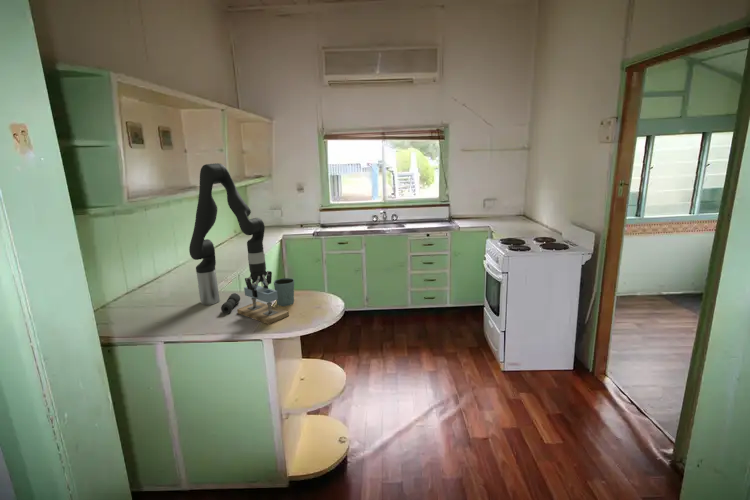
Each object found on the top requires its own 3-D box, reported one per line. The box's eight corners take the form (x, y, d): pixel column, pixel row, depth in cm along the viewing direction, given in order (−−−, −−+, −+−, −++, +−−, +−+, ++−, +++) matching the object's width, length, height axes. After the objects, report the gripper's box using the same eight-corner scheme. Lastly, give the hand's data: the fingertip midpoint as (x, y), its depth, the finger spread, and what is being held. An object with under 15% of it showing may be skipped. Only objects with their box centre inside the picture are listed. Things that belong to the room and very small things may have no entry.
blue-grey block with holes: (245, 295, 197) (244, 287, 196) (254, 292, 202) (253, 284, 201) (268, 302, 187) (267, 294, 186) (277, 299, 191) (277, 290, 190)
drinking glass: (272, 303, 210) (269, 281, 207) (288, 298, 217) (286, 276, 214) (283, 308, 203) (280, 285, 200) (300, 302, 210) (298, 280, 207)
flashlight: (232, 314, 199) (230, 303, 197) (220, 314, 198) (219, 304, 197) (241, 302, 213) (239, 292, 212) (230, 302, 213) (229, 293, 212)
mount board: (237, 313, 199) (235, 299, 197) (258, 305, 208) (256, 292, 206) (268, 324, 185) (266, 310, 183) (289, 315, 194) (287, 301, 192)
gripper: (264, 256, 198) (268, 289, 202) (238, 263, 187) (243, 298, 191) (274, 258, 193) (277, 292, 197) (248, 266, 182) (252, 301, 186)
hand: (260, 295), depth 194 cm, fingers closed on blue-grey block with holes, 5 cm apart
